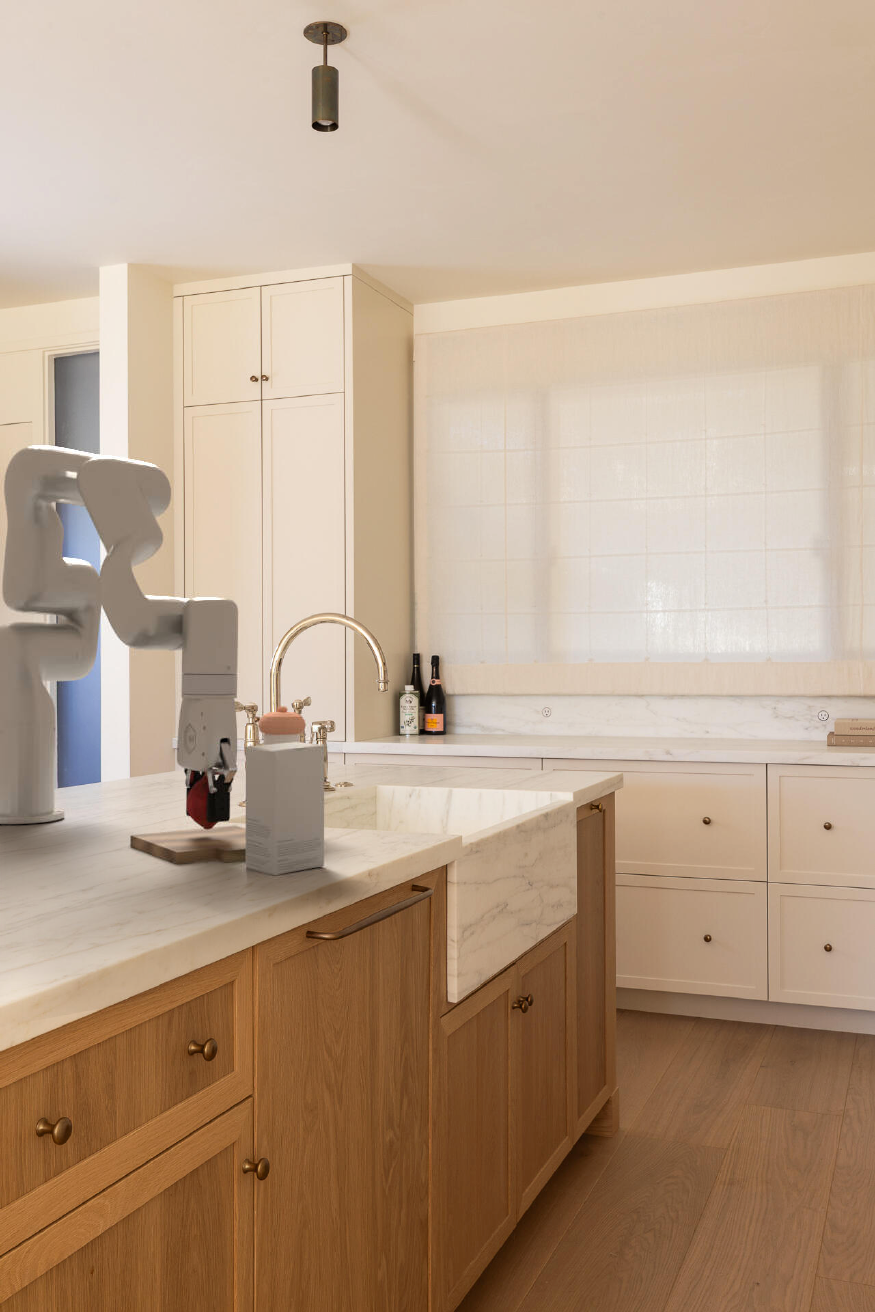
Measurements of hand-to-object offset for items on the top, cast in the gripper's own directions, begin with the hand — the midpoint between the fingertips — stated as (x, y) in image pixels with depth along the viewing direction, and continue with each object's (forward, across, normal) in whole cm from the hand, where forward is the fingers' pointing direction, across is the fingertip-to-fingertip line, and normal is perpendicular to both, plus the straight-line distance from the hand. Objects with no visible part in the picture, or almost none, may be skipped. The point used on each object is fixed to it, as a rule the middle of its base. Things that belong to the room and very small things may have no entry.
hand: (207, 817), depth 151 cm
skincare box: (+4, +18, +2) cm, 19 cm away
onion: (+2, 0, 0) cm, 2 cm away
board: (+4, +1, 0) cm, 5 cm away
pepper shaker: (+5, -5, +14) cm, 16 cm away
